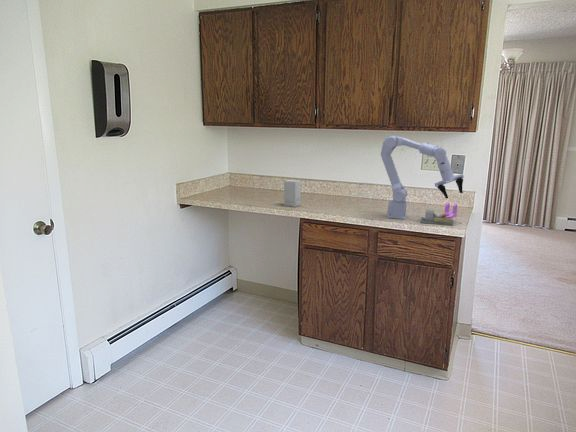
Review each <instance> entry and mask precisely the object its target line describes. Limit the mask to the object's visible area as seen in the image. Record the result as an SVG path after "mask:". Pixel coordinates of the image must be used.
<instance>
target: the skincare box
mask: <svg viewBox="0 0 576 432" xmlns="http://www.w3.org/2000/svg"><path fill="white" fill-rule="evenodd" d="M283 193H284V195H283V197H284V199H283V200H284V202H283V203H284V207H290V206H291V207H290V208H297V206H298V207H300V206H302V202H301V201H302V200H301V199H302V198H301V196H302V195H301V193H302V192H301V180H297V179H287V180H283Z"/></svg>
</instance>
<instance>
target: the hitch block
mask: <svg viewBox="0 0 576 432" xmlns="http://www.w3.org/2000/svg"><path fill="white" fill-rule="evenodd" d="M424 214H425V215H424V217H423V218H422V217H420V218H421V219H420V221H421V220H425V221H434V218H433V216H434V214H435V210H430V209H426V210H425V213H424Z"/></svg>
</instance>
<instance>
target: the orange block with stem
mask: <svg viewBox="0 0 576 432" xmlns="http://www.w3.org/2000/svg"><path fill="white" fill-rule="evenodd" d="M442 214H444V215H442ZM442 214H441V213H434V216H433V218H434V217H435V218H444V217H446V214H447V213H445V212H443V213H442Z"/></svg>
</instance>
